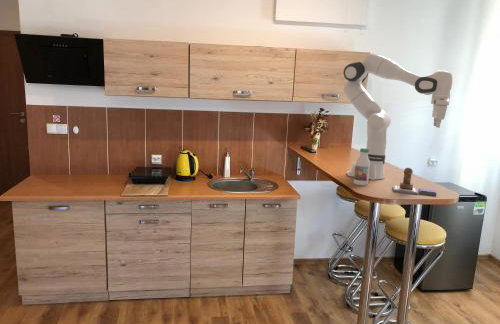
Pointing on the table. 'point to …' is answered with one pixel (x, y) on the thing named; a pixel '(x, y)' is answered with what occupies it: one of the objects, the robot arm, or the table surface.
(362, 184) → the milk bottle
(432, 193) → the ink pad
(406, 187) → the stamp
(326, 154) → the table surface
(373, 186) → the table surface
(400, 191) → the board
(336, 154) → the table surface
